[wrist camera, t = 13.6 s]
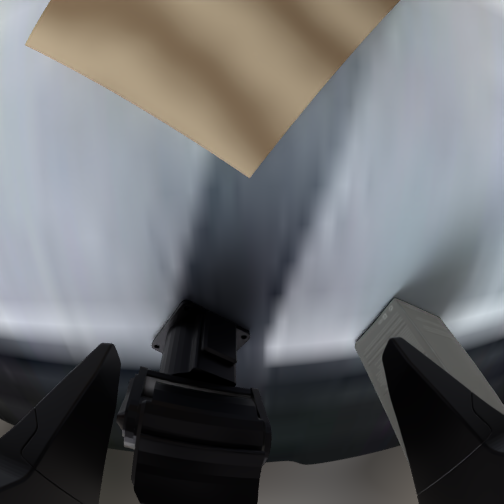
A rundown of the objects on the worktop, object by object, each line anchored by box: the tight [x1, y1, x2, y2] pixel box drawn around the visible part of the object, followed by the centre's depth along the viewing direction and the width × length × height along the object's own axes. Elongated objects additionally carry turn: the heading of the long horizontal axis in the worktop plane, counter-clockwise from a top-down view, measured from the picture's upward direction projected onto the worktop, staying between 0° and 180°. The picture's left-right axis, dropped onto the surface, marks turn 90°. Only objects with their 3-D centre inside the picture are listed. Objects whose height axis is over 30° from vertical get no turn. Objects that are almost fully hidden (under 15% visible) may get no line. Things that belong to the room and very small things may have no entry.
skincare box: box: [355, 298, 504, 466], centre depth 21 cm, size 8×7×16 cm
